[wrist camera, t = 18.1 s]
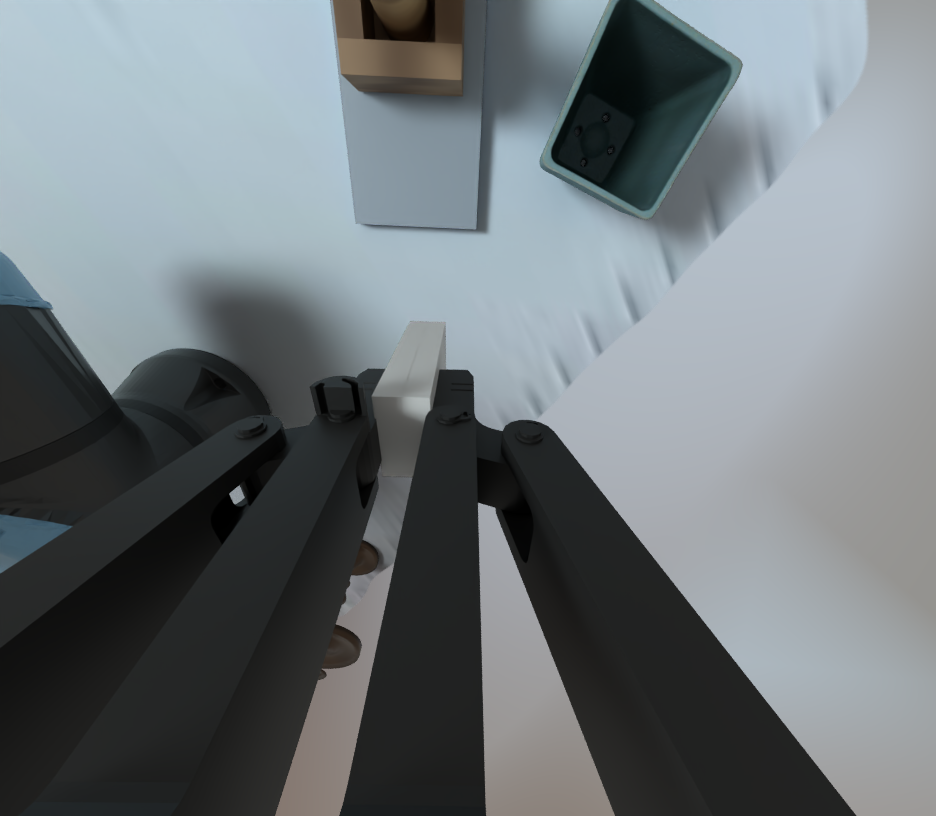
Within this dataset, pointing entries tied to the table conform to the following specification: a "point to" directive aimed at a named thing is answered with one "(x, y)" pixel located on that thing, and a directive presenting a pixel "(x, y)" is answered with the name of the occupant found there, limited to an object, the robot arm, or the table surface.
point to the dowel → (405, 19)
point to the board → (418, 145)
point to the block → (401, 51)
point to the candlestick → (344, 641)
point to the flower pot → (638, 106)
